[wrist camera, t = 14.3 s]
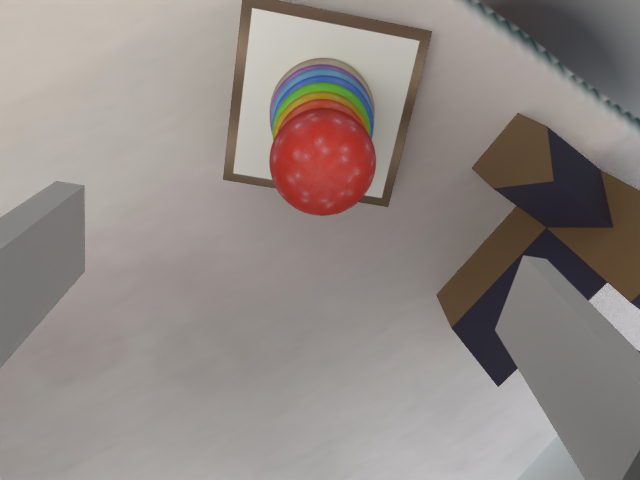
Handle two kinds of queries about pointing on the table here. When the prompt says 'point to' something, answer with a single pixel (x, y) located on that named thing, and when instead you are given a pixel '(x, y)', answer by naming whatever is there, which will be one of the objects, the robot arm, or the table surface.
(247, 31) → the base block
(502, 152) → the toy building blocks
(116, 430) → the table surface
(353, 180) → the stacking toy
